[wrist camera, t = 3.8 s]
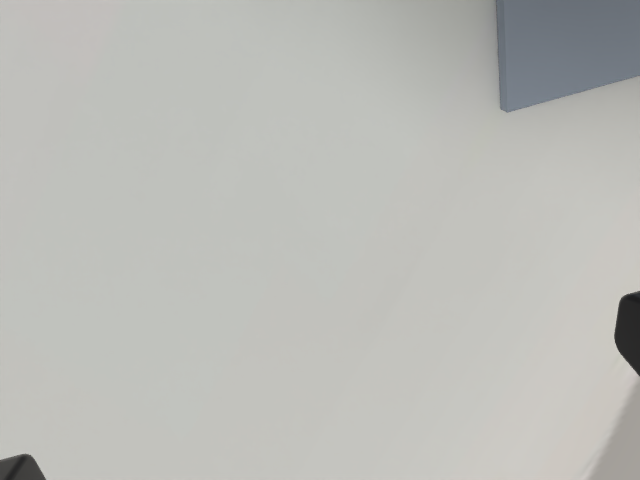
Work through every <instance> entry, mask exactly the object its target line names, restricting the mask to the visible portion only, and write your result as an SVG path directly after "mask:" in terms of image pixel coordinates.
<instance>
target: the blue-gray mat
mask: <svg viewBox="0 0 640 480" xmlns="http://www.w3.org/2000/svg"><path fill="white" fill-rule="evenodd" d="M496 2H497V28H498V55H499V81H500V108H501V110H503V111H506V112H511V111H514V110H518V109H521V108H525V107H529V106H532V105H536V104H539V103H543V102H547V101H550V100H554V99H557V98H561V97H564V96H568V95H572V94H575V93H579V92H582V91H586V90H589V89H593V88H597V87H600V86H604V85H607V84H611V83H614V82H618V81H622V80H625V79H629V78H632V77H636V76H640V0H496Z"/></svg>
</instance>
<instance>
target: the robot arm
mask: <svg viewBox="0 0 640 480" xmlns="http://www.w3.org/2000/svg"><path fill="white" fill-rule="evenodd" d="M614 338H615V343H616V346H617V348H618V350H619V352H620V353H621V355H622V356H623V357H624V358H625V360H626V361H627V362H628V363H629V364H630V366H631V367H632V368H633V369H634V370H635V371H636V373H637V374H638V375H639V376H640V291H638V292H634V293H630V294H627V295H625V296H623V297H622V298H621V300H620V302H619V307H618V314H617V320H616V327H615V334H614ZM0 480H46V479H45V477H44V475H43V473H42V472H41V470H40V468H39V466H38V465H37V463H36V461H35V460H34V458H33V457H32V456H31V455H29V454H21V455H17V456H14V457H10V458H6V459H2V460H0Z"/></svg>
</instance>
